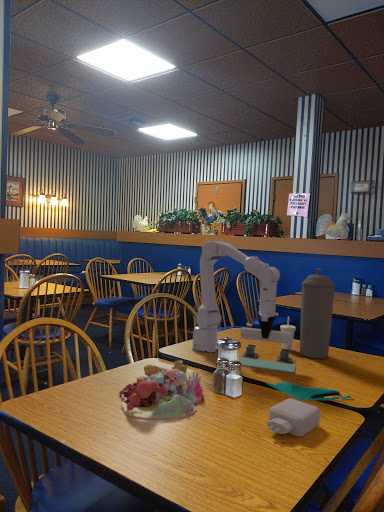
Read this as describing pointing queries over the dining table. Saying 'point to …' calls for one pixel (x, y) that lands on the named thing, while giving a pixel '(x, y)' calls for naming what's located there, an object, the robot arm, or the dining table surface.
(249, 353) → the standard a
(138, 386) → the coral reef model
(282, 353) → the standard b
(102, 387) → the dining table surface
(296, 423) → the charger
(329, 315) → the canister
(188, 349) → the dining table surface
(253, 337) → the rail
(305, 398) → the cloth
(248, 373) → the dining table surface
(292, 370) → the mat
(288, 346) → the smoothie
